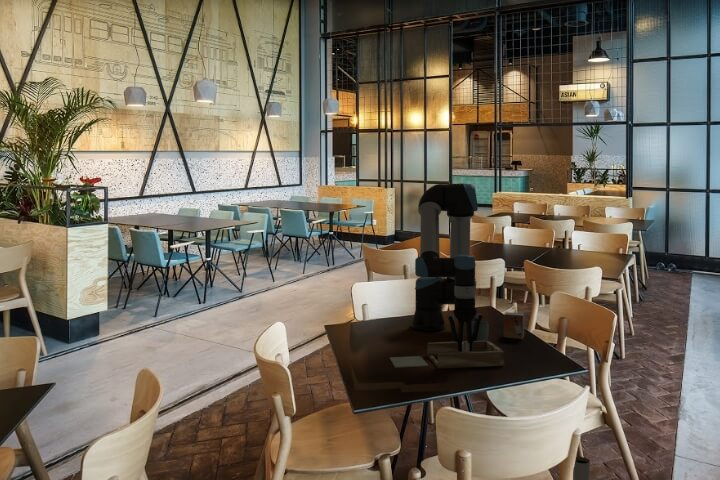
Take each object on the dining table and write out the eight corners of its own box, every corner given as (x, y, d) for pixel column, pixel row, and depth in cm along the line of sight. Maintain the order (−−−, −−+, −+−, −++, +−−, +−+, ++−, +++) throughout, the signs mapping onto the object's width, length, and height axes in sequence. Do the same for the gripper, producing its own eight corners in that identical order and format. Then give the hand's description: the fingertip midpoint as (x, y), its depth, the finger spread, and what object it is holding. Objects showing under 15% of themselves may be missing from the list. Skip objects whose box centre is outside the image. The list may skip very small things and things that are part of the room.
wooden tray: (427, 355, 226) (427, 342, 226) (488, 352, 229) (488, 340, 229) (438, 368, 209) (438, 354, 209) (504, 365, 212) (504, 351, 212)
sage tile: (389, 358, 223) (389, 357, 223) (420, 357, 224) (420, 356, 224) (395, 367, 211) (395, 366, 211) (428, 366, 213) (428, 365, 213)
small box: (503, 338, 252) (503, 314, 251) (505, 335, 257) (505, 311, 256) (522, 340, 249) (523, 315, 248) (524, 337, 254) (524, 312, 253)
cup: (488, 350, 233) (488, 325, 232) (468, 349, 234) (468, 324, 234) (488, 345, 240) (488, 321, 240) (468, 344, 242) (468, 320, 241)
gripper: (448, 299, 213) (448, 363, 214) (486, 297, 215) (486, 361, 216) (443, 295, 220) (443, 358, 222) (480, 294, 222) (480, 356, 224)
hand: (464, 359), depth 219 cm, fingers closed
